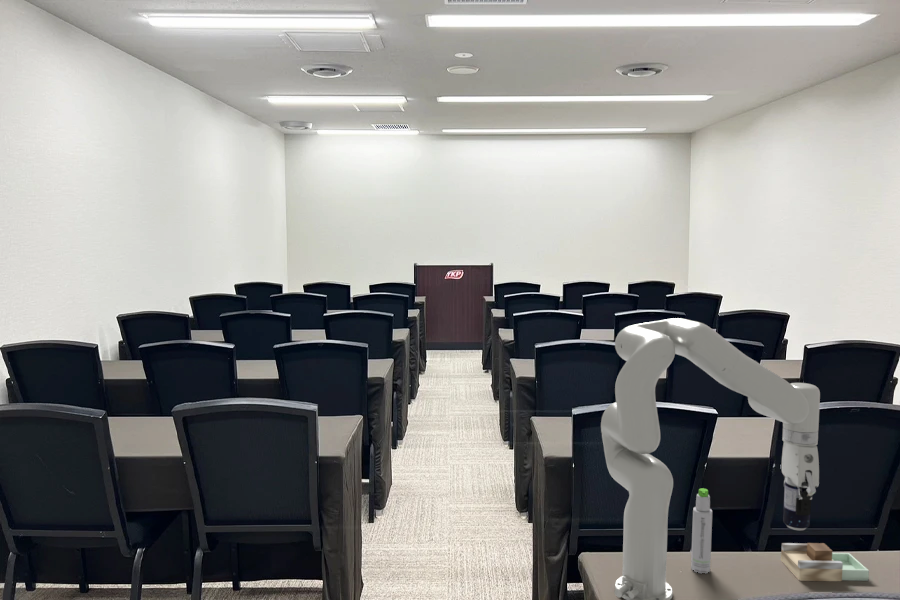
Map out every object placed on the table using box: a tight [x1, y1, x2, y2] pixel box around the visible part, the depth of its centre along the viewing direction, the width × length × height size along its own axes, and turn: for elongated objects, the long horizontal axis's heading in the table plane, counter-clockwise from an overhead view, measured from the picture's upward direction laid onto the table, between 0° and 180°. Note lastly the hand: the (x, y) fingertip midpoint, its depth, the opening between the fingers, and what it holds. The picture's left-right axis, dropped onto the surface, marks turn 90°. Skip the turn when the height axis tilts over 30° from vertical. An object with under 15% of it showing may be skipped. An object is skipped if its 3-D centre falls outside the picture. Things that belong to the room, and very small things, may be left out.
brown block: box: [807, 542, 833, 561], centre depth 170 cm, size 4×4×3 cm
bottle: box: [690, 487, 713, 574], centre depth 170 cm, size 4×4×20 cm
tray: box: [832, 552, 870, 582], centre depth 170 cm, size 6×9×2 cm
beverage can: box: [782, 477, 811, 531], centre depth 169 cm, size 6×6×12 cm
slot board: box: [780, 542, 843, 582], centre depth 170 cm, size 10×10×4 cm
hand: (796, 508), depth 169 cm, fingers closed on beverage can, 5 cm apart
